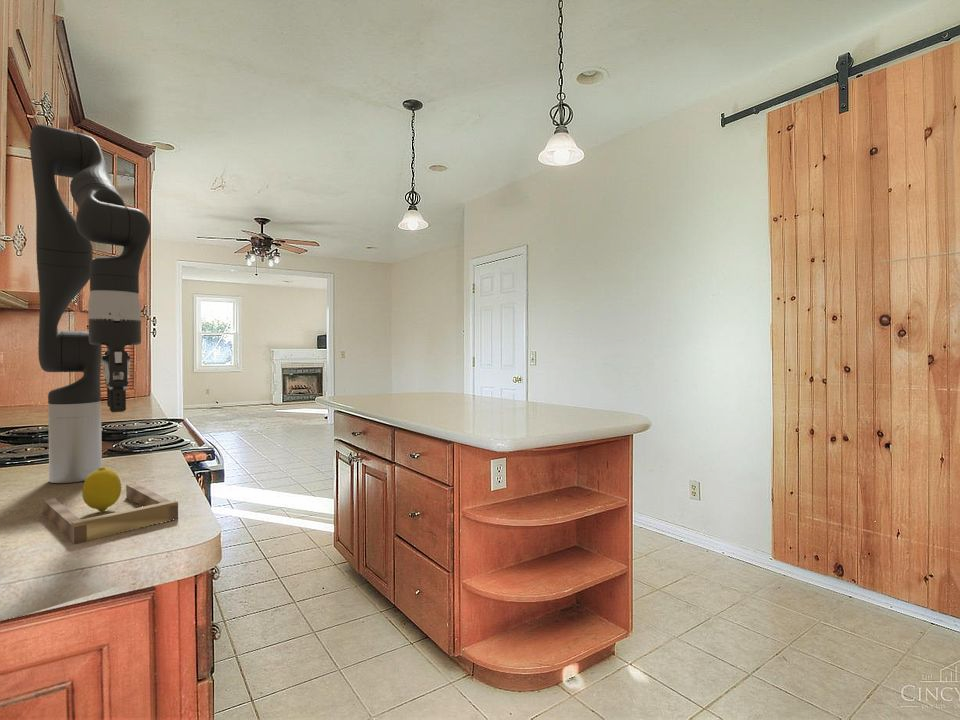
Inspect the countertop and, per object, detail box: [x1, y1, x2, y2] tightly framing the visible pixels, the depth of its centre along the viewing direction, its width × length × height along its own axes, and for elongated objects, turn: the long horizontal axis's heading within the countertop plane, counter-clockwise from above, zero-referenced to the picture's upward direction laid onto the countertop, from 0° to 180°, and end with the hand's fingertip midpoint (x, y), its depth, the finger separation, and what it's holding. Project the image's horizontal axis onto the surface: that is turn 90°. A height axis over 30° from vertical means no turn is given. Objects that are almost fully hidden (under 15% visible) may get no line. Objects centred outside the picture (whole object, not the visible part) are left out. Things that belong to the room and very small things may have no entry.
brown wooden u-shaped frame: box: [41, 483, 179, 544], centre depth 86 cm, size 22×14×3 cm, turn 51°
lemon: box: [81, 466, 122, 513], centre depth 89 cm, size 6×6×8 cm
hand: (116, 409), depth 88 cm, fingers open, 8 cm apart
